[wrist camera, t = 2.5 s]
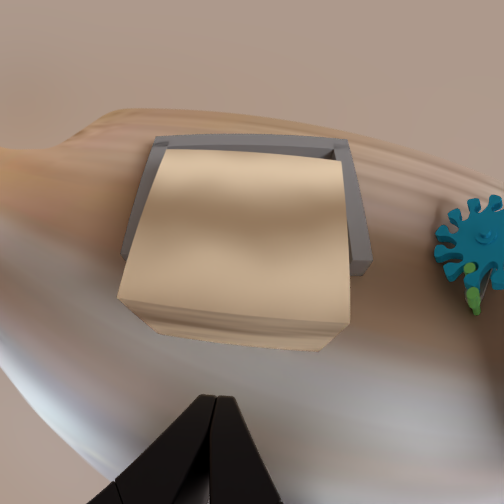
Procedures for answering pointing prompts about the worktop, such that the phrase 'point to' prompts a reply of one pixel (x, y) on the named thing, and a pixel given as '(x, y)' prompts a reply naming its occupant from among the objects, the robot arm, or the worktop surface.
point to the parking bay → (274, 145)
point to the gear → (475, 249)
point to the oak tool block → (242, 250)
